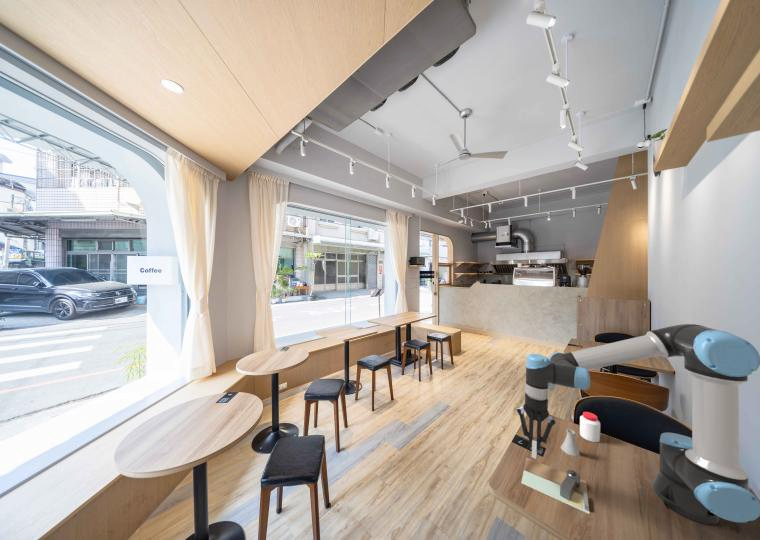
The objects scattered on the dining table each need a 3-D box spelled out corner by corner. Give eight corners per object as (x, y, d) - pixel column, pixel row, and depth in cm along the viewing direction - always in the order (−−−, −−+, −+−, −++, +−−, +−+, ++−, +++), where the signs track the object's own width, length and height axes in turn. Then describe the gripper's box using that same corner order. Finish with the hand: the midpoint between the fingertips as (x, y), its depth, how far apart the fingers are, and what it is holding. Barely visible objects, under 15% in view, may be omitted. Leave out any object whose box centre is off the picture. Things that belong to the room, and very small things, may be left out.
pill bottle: (581, 429, 130) (582, 408, 130) (601, 437, 124) (601, 415, 124) (577, 436, 125) (578, 414, 125) (598, 444, 119) (598, 421, 119)
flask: (584, 460, 109) (584, 437, 109) (565, 458, 110) (565, 435, 110) (574, 448, 116) (575, 427, 116) (557, 446, 117) (557, 425, 117)
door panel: (587, 500, 90) (587, 492, 90) (589, 517, 84) (589, 509, 84) (523, 472, 102) (523, 466, 102) (521, 486, 95) (521, 478, 95)
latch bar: (568, 476, 99) (568, 466, 99) (581, 483, 96) (581, 472, 95) (558, 493, 91) (558, 482, 91) (571, 502, 88) (571, 490, 88)
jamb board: (585, 484, 97) (586, 481, 97) (587, 499, 90) (587, 496, 90) (526, 460, 108) (526, 457, 108) (523, 472, 102) (523, 469, 102)
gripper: (557, 397, 96) (554, 458, 97) (518, 386, 104) (516, 443, 104) (556, 405, 90) (554, 470, 90) (515, 394, 98) (513, 453, 98)
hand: (534, 455), depth 97 cm, fingers closed
